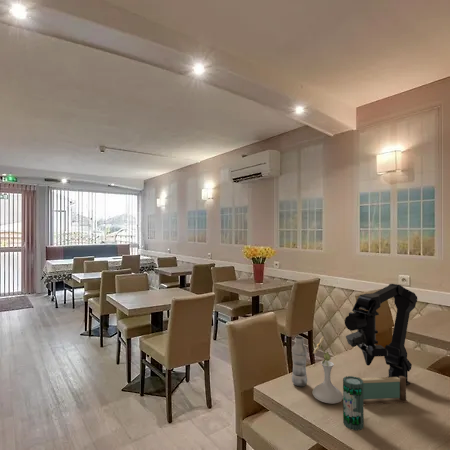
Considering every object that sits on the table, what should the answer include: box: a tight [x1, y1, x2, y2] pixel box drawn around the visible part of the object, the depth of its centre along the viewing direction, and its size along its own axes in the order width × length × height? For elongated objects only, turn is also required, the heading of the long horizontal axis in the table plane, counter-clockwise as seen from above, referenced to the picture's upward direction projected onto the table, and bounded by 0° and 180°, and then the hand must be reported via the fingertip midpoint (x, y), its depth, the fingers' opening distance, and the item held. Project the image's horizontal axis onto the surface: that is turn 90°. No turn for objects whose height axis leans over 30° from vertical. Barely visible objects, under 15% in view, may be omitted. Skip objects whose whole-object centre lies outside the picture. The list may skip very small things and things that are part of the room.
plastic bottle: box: [291, 335, 308, 388], centre depth 135 cm, size 6×7×20 cm
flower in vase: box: [311, 335, 343, 404], centre depth 124 cm, size 13×11×25 cm
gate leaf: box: [360, 376, 400, 399], centre depth 122 cm, size 15×2×7 cm, turn 94°
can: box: [342, 375, 365, 431], centre depth 108 cm, size 6×6×15 cm
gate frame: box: [356, 376, 409, 406], centre depth 122 cm, size 19×3×9 cm, turn 94°
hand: (368, 365), depth 129 cm, fingers closed
